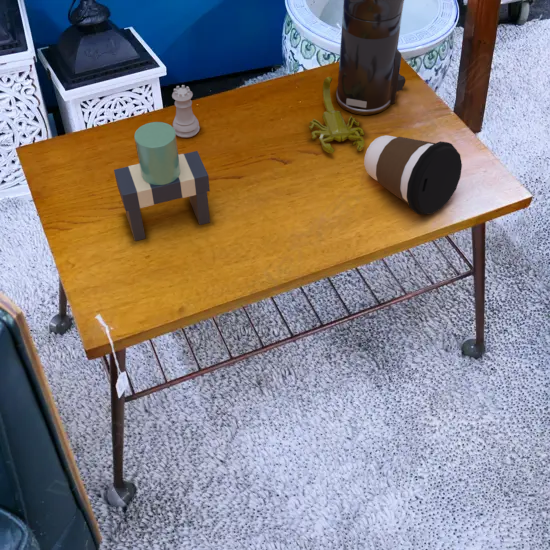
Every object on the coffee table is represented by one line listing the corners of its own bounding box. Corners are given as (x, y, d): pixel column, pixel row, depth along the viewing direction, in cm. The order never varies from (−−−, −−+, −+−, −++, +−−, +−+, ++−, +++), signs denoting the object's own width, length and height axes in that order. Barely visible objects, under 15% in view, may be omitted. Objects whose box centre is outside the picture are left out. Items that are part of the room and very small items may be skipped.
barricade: (202, 197, 113) (197, 150, 106) (212, 222, 110) (208, 175, 103) (123, 216, 110) (113, 169, 104) (132, 242, 107) (122, 195, 100)
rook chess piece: (168, 127, 124) (163, 86, 118) (193, 119, 126) (189, 78, 120) (179, 142, 122) (174, 101, 116) (204, 134, 123) (200, 93, 117)
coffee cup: (347, 194, 113) (408, 223, 106) (359, 123, 108) (425, 149, 101) (393, 183, 120) (454, 210, 113) (407, 117, 115) (471, 140, 108)
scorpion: (318, 158, 118) (322, 128, 114) (298, 103, 128) (301, 73, 124) (372, 154, 120) (377, 123, 115) (348, 100, 130) (352, 70, 125)
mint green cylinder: (174, 155, 106) (169, 118, 101) (185, 180, 102) (180, 142, 97) (137, 164, 104) (130, 126, 99) (146, 189, 101) (139, 151, 96)
